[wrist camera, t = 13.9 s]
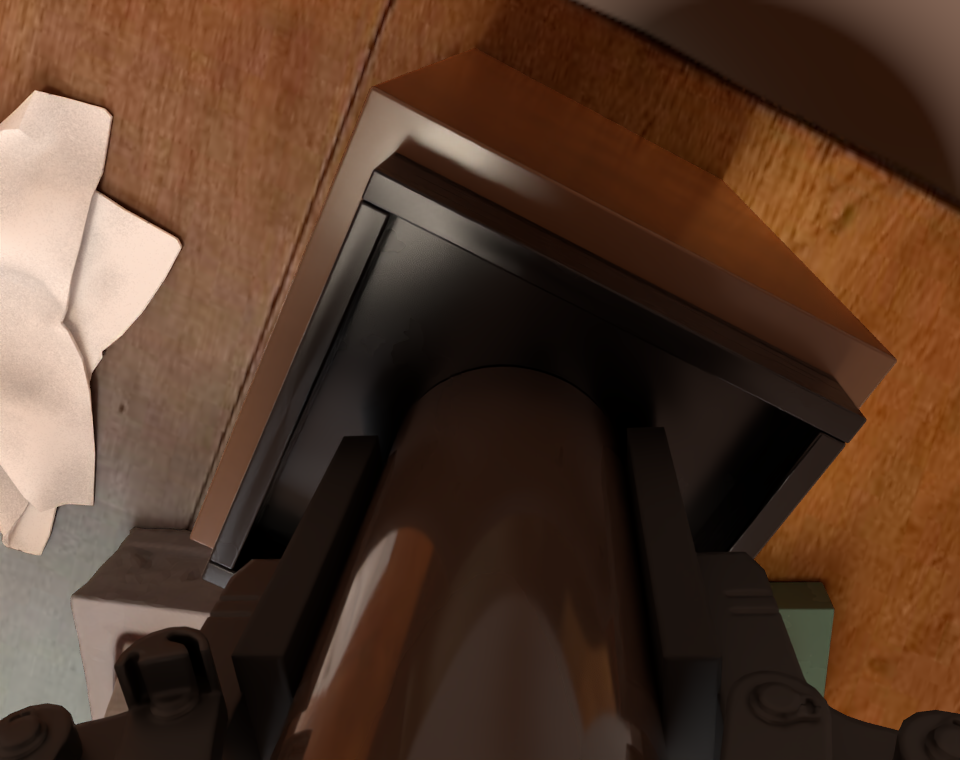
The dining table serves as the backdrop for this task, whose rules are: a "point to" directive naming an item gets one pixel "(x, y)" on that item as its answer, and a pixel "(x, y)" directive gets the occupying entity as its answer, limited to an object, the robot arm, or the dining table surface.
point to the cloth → (60, 303)
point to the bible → (138, 604)
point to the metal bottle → (488, 592)
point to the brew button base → (807, 626)
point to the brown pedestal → (542, 309)
